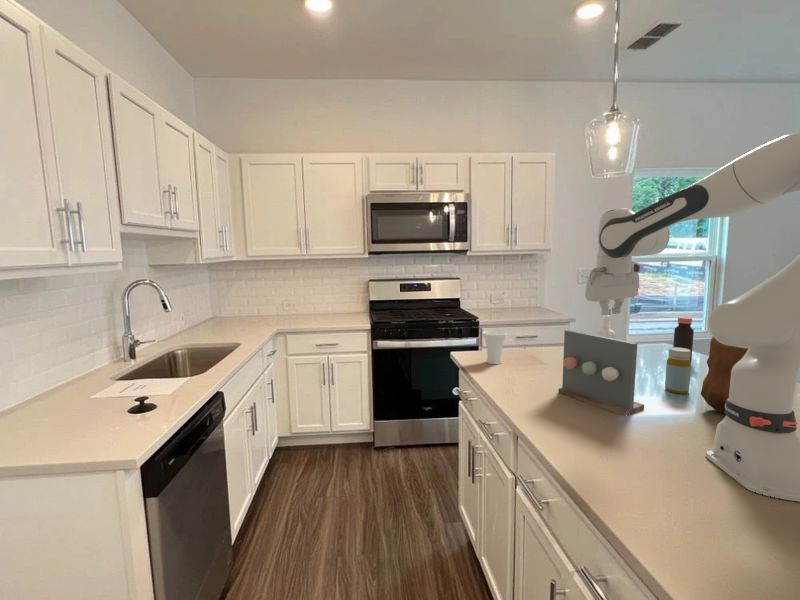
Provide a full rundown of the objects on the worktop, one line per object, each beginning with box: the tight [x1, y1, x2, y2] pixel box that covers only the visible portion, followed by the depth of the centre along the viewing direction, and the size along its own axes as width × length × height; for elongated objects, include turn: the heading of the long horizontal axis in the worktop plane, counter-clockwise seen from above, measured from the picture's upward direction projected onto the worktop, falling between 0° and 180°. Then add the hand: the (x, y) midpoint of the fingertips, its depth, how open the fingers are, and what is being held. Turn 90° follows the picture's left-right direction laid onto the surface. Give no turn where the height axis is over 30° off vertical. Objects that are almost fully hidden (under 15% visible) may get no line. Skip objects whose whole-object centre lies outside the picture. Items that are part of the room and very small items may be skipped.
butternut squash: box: [700, 336, 748, 414], centre depth 122 cm, size 14×13×25 cm
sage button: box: [582, 361, 598, 375], centre depth 131 cm, size 2×4×4 cm, turn 30°
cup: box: [482, 329, 508, 365], centre depth 181 cm, size 10×10×14 cm
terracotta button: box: [562, 357, 578, 370], centre depth 137 cm, size 2×4×4 cm, turn 30°
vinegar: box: [672, 316, 695, 363], centre depth 175 cm, size 7×7×20 cm
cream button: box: [602, 367, 619, 381], centre depth 125 cm, size 2×4×4 cm, turn 30°
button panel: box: [558, 329, 645, 417], centre depth 134 cm, size 10×24×22 cm, turn 30°
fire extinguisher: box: [596, 314, 617, 339], centre depth 154 cm, size 7×12×25 cm, turn 157°
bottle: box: [664, 346, 692, 395], centre depth 142 cm, size 7×7×15 cm
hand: (611, 314), depth 119 cm, fingers open, 3 cm apart
